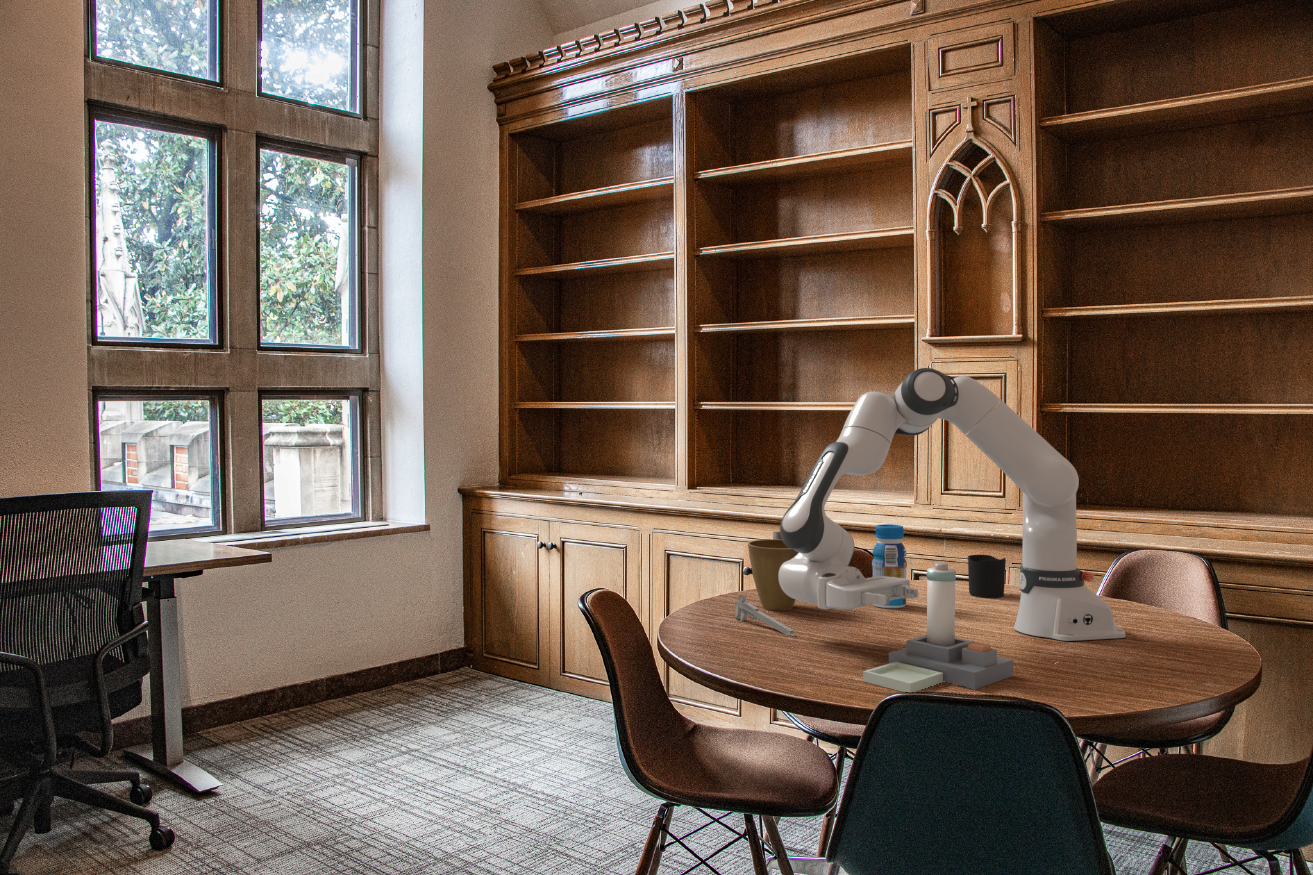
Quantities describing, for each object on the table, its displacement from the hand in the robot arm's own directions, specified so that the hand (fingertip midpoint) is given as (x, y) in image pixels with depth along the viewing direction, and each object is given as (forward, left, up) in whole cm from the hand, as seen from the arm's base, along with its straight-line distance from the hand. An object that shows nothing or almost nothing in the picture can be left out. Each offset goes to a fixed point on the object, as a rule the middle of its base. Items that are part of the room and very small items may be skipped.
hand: (902, 597), depth 185 cm
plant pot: (+17, -50, -13) cm, 55 cm away
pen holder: (-40, -65, -13) cm, 78 cm away
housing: (-7, +8, -13) cm, 16 cm away
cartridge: (-6, +6, -10) cm, 13 cm away
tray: (+3, +14, -13) cm, 19 cm away
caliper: (+23, -29, -13) cm, 39 cm away
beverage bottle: (-11, -52, -13) cm, 55 cm away
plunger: (-11, +12, -9) cm, 19 cm away
